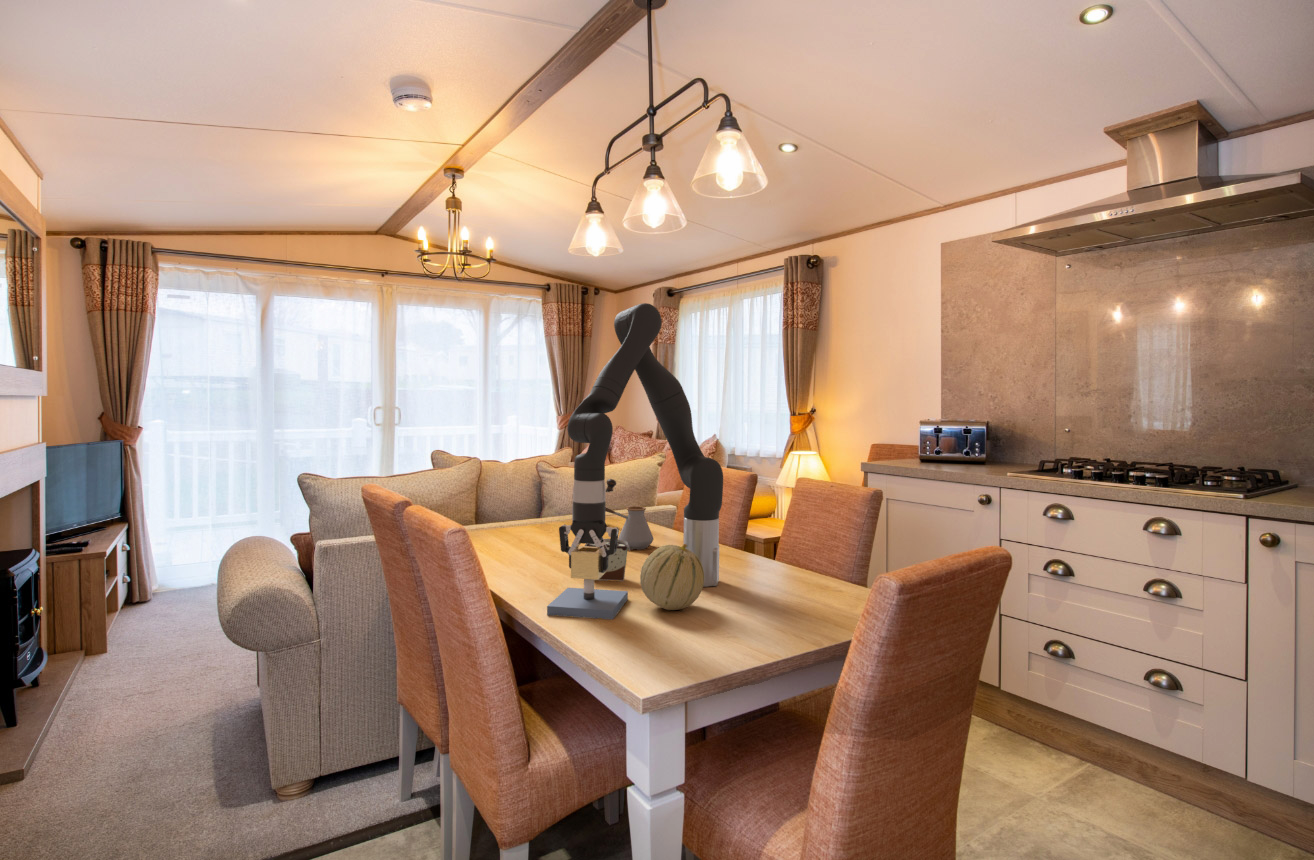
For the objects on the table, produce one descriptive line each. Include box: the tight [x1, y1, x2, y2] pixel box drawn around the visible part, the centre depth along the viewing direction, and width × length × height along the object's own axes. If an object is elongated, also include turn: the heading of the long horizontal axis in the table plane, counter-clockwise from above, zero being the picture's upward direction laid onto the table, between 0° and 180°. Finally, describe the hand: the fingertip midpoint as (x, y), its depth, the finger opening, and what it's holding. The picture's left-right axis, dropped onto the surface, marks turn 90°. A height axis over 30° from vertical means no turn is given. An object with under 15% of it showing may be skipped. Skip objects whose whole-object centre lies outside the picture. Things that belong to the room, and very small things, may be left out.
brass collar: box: [570, 545, 606, 581], centre depth 154 cm, size 6×6×6 cm
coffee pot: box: [605, 505, 654, 550], centre depth 216 cm, size 21×12×15 cm, turn 102°
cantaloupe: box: [639, 543, 704, 611], centre depth 154 cm, size 15×15×15 cm
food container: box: [584, 538, 631, 582], centre depth 180 cm, size 12×6×10 cm, turn 84°
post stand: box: [546, 579, 629, 620], centre depth 154 cm, size 15×15×8 cm
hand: (588, 571), depth 154 cm, fingers closed on brass collar, 6 cm apart
